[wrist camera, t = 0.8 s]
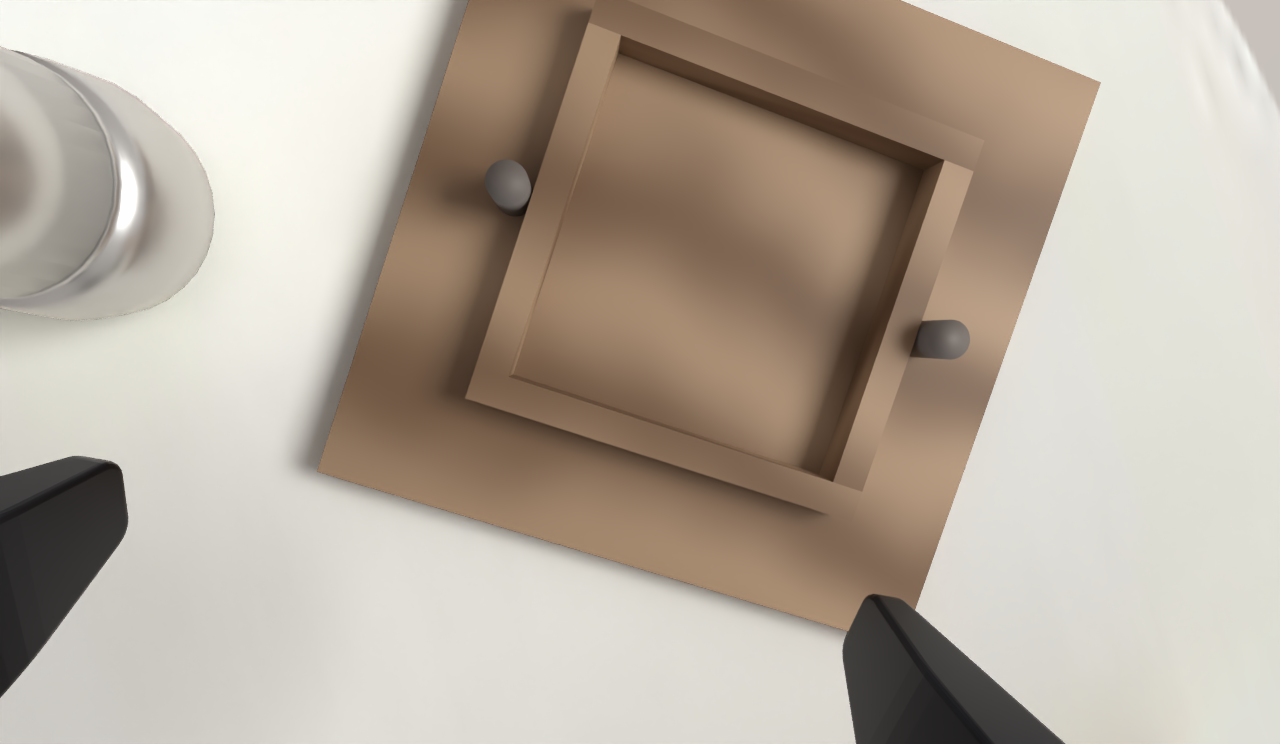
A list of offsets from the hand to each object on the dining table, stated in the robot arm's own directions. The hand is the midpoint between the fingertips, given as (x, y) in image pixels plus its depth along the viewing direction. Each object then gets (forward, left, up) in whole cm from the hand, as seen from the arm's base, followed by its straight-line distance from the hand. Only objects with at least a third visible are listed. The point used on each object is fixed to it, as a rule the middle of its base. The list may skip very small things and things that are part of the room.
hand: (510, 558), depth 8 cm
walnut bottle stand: (+7, -2, -14) cm, 15 cm away
